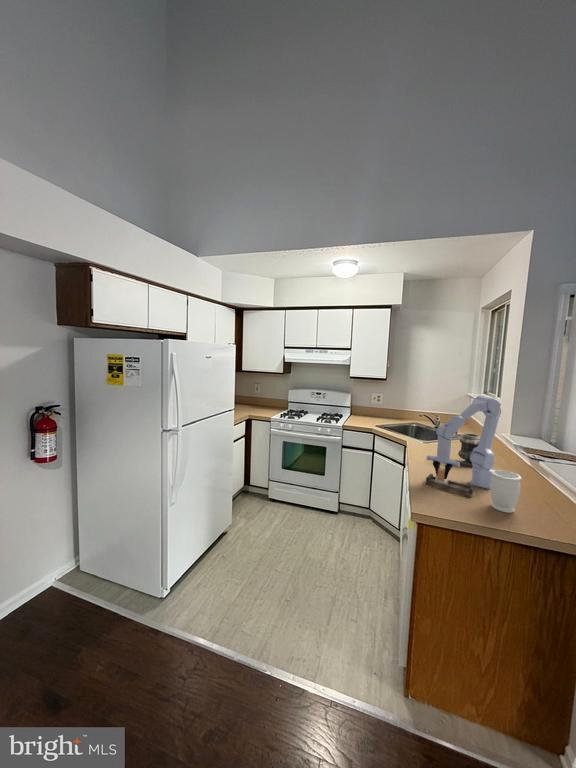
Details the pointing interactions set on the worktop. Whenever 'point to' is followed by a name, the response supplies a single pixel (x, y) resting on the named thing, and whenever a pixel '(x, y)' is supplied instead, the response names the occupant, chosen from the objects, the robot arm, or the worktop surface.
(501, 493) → the jar
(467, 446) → the apothecary jar
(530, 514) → the worktop surface
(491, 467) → the robot arm
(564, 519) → the worktop surface
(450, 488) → the rail board
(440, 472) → the block
